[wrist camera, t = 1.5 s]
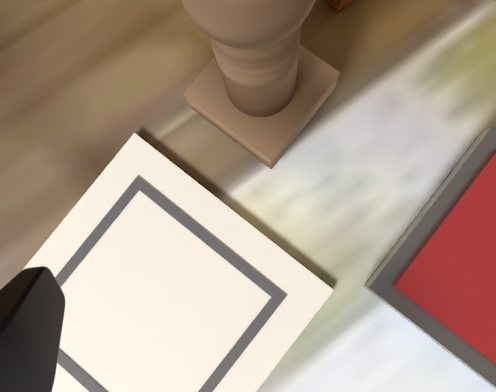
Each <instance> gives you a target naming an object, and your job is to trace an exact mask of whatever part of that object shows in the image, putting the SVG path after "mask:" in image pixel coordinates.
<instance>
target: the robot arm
mask: <svg viewBox="0 0 496 392" xmlns="http://www.w3.org/2000/svg"><path fill="white" fill-rule="evenodd" d="M64 312H65V296H64V293H63V291H62V289H61V288H60V286H59V284H58V282H57V281H56V279H55V277H54V275H53V274H52V272H51V270H50V269H49V268H48V267H45V266H40V267H31V268H26V269H24V270H22V271H21V272H20V273H19V274H18V275H16V276H15V277H14V278H13V279H12V280H11V281H10V282H9V283H8V284H6V285H5V286H4V287H3V288H2V289H1V290H0V392H52V388H53V384H54V379H55V374H56V368H57V361H58V354H59V347H60V340H61V333H62V326H63V319H64Z"/></svg>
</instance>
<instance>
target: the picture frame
mask: <svg viewBox="0 0 496 392" xmlns="http://www.w3.org/2000/svg"><path fill="white" fill-rule="evenodd" d="M352 1H354V0H326V2H327V3H328V4H329V5H330V6H331V7H332V9H333V10H334V11H335V12H336V13H338V12H339V11H340V10H342V9H343V8H344V7H346V6H347V5H348V4H350V3H351V2H352Z"/></svg>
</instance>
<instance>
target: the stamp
mask: <svg viewBox="0 0 496 392" xmlns="http://www.w3.org/2000/svg"><path fill="white" fill-rule="evenodd" d="M315 1H316V0H181V2H182V4H183V6H184V8H185V10H186V12H187V14H188V15H189V16H190V18H191V19H192V21H193V22H194V23H195V24H196V25H197V26H198V27H199V28H200V30H202V31H203V32H204V33H205V34H206V35H208V36H209V39H210V42H211V45H212V48H213V51H214V54H215V55H214V57H213V58H212V59H211V60H210V62H209V63H208V64H207V65H206V67H205V68H204V69H203V70H202V71H201V73H200V74H199V75H198V76H197V78H196V79H195V80H194V81H193V83H192V84H191V85H190V86H189V87H188V89H187V90H186V91H185V92H184V96H185V98H186V99H187V101H188V103H189V104H190V106H191V108H192V109H193V110H195V111H196V112H197V113H198V114H200V115H201V116H202V117H204V118H205V119H206V120H208V121H209V122H210V123H212V124H213V125H214V126H215V127H217V128H218V129H219V130H221V131H222V132H223V133H225V134H226V135H227V136H229V137H230V138H231V139H233V140H234V141H235V142H236V143H238V144H239V145H240V146H242V147H243V148H244V149H246V150H247V151H248V152H250V153H251V154H252V155H253V156H255V157H256V158H257V159H259V160H260V161H261V162H263V163H264V164H265V165H267V166H268V167H269V168H270V169H272V168H273V166H274V165H275V164H276V163H277V161H278V160H279V159H280V158H281V156H282V155H283V154H284V153H285V151H286V150H287V149H288V148H289V146H290V145H291V144H292V142H293V141H294V140H295V139H296V137H297V136H298V135H299V134H300V132H301V131H302V130H303V129H304V127H305V126H306V125H307V124H308V122H309V121H310V120H311V118H312V117H313V116H314V115H315V113H316V112H317V111H318V110H319V108H320V107H321V106H322V105H323V103H324V102H325V101H326V100H327V98H328V97H329V96H330V94H331V93H332V92H333V91H334V89H335V87H336V84H337V81H338V78H339V74H340V72H339V71H337V70H336V69H335V68H333V67H332V66H330V65H329V64H327V63H326V62H325V61H323V60H322V59H320V58H319V57H318V56H316V55H315V54H313V53H312V52H311V51H309V50H308V49H306V48H305V47H304V46H302V45H301V44H300V36H301V25H302V23H303V22H304V20H305V19H306V17H307V16H308V15H309V13H310V11H311V9H312V7H313V5H314V3H315Z"/></svg>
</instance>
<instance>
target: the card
mask: <svg viewBox="0 0 496 392" xmlns="http://www.w3.org/2000/svg"><path fill="white" fill-rule="evenodd" d="M40 266H45V267H48V268H49V269H50V270H51V272H52V274H53V275H54V277H55V279H56V281H57V282H58V284H59V286H60V288H61V289H62V291H63V293H64V296H65V312H64V319H63V326H62V333H61V340H60V347H59V354H58V361H57V368H56V374H55V379H54V384H53V388H52V392H256V391H257V390H258V388H259V387H260V386H261V384H262V383H263V382H264V380H265V379H266V378H267V376H268V375H269V374H270V373H271V371H272V370H273V369H274V367H275V366H276V365H277V363H278V362H279V361H280V360H281V358H282V357H283V356H284V354H285V353H286V352H287V350H288V349H289V348H290V347H291V345H292V344H293V343H294V341H295V340H296V339H297V337H298V336H299V335H300V334H301V332H302V331H303V330H304V328H305V327H306V326H307V324H308V323H309V322H310V320H311V319H312V318H313V317H314V315H315V314H316V313H317V311H318V310H319V309H320V307H321V306H322V305H323V304H324V302H325V301H326V300H327V298H328V297H329V296H330V294H331V293H332V292H333V291H334V290H333V289H332V288H331V287H329V286H328V285H327V284H325V283H324V282H323V281H322V280H320V279H319V278H318V277H317V276H315V275H314V274H313V273H312V272H310V271H309V270H308V269H306V268H305V267H304V266H303V265H301V264H300V263H299V262H298V261H296V260H295V259H294V258H293V257H291V256H290V255H289V254H287V253H286V252H285V251H284V250H282V249H281V248H280V247H279V246H277V245H276V244H275V243H274V242H272V241H271V240H270V239H268V238H267V237H266V236H265V235H263V234H262V233H261V232H260V231H258V230H257V229H256V228H255V227H253V226H252V225H251V224H249V223H248V222H247V221H246V220H244V219H243V218H242V217H241V216H239V215H238V214H237V213H236V212H234V211H233V210H232V209H230V208H229V207H228V206H227V205H225V204H224V203H223V202H222V201H220V200H219V199H218V198H217V197H215V196H214V195H213V194H211V193H210V192H209V191H208V190H206V189H205V188H204V187H203V186H201V185H200V184H199V183H198V182H196V181H195V180H194V179H192V178H191V177H190V176H189V175H187V174H186V173H185V172H184V171H182V170H181V169H180V168H179V167H177V166H176V165H175V164H173V163H172V162H171V161H170V160H168V159H167V158H166V157H165V156H163V155H162V154H161V153H160V152H158V151H157V150H156V149H154V148H153V147H152V146H151V145H149V144H148V143H147V142H146V141H144V140H143V139H142V138H141V137H139V136H138V135H137V134H135V133H134V134H133V135H132V137H131V138H130V139H129V140H128V141H127V143H126V144H125V145H124V146H123V148H122V149H121V150H120V151H119V152H118V154H117V155H116V156H115V157H114V159H113V160H112V161H111V162H110V163H109V165H108V166H107V167H106V168H105V170H104V171H103V172H102V173H101V174H100V176H99V177H98V178H97V179H96V181H95V182H94V183H93V184H92V186H91V187H90V188H89V189H88V190H87V192H86V193H85V194H84V195H83V197H82V198H81V199H80V200H79V201H78V203H77V204H76V205H75V206H74V208H73V209H72V210H71V211H70V212H69V214H68V215H67V216H66V217H65V219H64V220H63V221H62V222H61V224H60V225H59V226H58V227H57V228H56V230H55V231H54V232H53V233H52V235H51V236H50V237H49V238H48V239H47V241H46V242H45V243H44V244H43V246H42V247H41V248H40V249H39V250H38V252H37V253H36V254H35V255H34V257H33V258H32V259H31V260H30V261H29V263H28V264H27V265H26V266H25V268H24V269H26V268H31V267H40ZM24 269H23V270H24Z"/></svg>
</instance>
